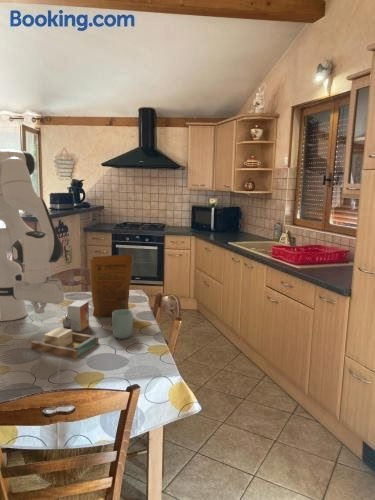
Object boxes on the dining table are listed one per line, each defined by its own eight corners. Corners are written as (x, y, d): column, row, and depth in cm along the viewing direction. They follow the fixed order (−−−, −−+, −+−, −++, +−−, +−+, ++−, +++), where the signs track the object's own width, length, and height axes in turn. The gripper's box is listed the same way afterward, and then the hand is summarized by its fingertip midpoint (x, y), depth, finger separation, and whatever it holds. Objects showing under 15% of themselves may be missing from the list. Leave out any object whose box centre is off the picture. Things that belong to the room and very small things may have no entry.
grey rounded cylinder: (61, 334, 154) (61, 315, 152) (66, 332, 156) (65, 313, 155) (67, 336, 153) (67, 316, 151) (72, 333, 155) (72, 314, 154)
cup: (113, 341, 149) (113, 316, 147) (111, 333, 156) (111, 309, 154) (133, 339, 151) (133, 314, 149) (131, 332, 158) (131, 308, 156)
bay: (30, 348, 140) (30, 340, 140) (56, 335, 153) (56, 327, 153) (75, 358, 134) (75, 349, 133) (98, 343, 147) (98, 335, 146)
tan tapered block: (44, 347, 142) (44, 334, 141) (59, 339, 149) (58, 327, 148) (58, 350, 140) (57, 337, 139) (72, 342, 147) (72, 329, 146)
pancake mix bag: (133, 316, 177) (133, 255, 172) (90, 319, 172) (89, 256, 167) (131, 311, 183) (132, 252, 179) (89, 314, 178) (88, 253, 174)
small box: (80, 332, 157) (80, 306, 155) (67, 330, 158) (67, 305, 156) (89, 325, 165) (89, 301, 163) (77, 324, 166) (76, 300, 164)
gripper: (66, 276, 142) (68, 313, 144) (22, 272, 150) (24, 307, 152) (55, 280, 137) (57, 318, 139) (9, 275, 144) (11, 312, 146)
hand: (39, 312), depth 145 cm, fingers closed
